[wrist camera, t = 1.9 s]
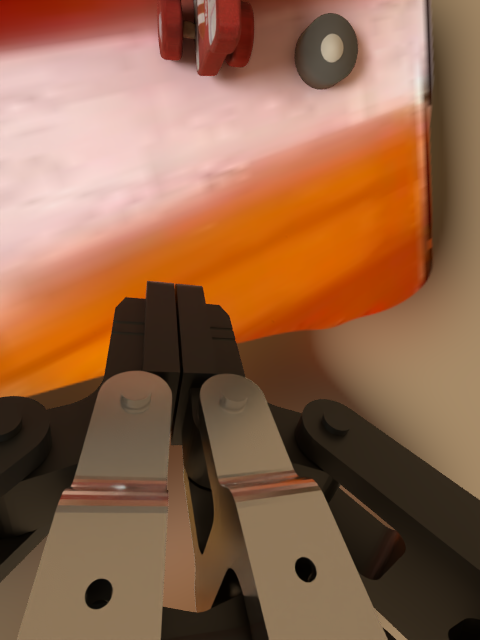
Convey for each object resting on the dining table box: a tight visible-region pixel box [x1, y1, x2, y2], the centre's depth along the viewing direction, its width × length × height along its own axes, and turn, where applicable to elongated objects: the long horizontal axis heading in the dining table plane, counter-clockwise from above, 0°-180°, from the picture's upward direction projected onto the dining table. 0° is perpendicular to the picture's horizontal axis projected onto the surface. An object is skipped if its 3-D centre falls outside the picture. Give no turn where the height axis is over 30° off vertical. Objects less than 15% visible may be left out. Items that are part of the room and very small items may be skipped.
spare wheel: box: [295, 13, 358, 89], centre depth 32 cm, size 5×5×2 cm
